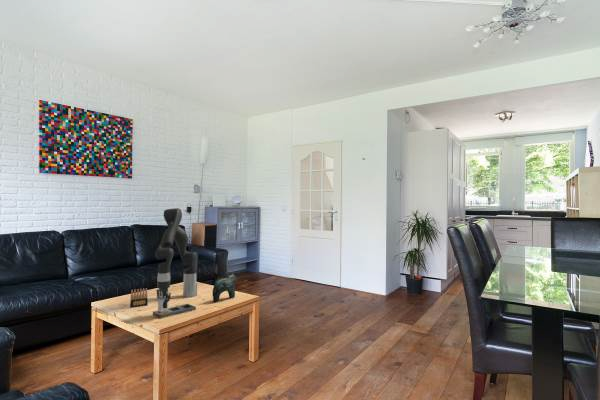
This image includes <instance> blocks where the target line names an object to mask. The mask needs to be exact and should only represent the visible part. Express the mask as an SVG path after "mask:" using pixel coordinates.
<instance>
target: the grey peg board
mask: <svg viewBox="0 0 600 400" xmlns="http://www.w3.org/2000/svg"><path fill="white" fill-rule="evenodd" d="M196 309H197V306H195V305H192V304H190V303H185V304H181V305H175V306H171V307H168V312H166V313H158V310H155V311H152V316H155V317H156V318H159V319H165V318H168V317H169V318H170V317H172V316H177V315H180V314H183V313H184V314H185V313H189V312H193V311H196ZM192 310H193V311H192Z"/></svg>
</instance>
